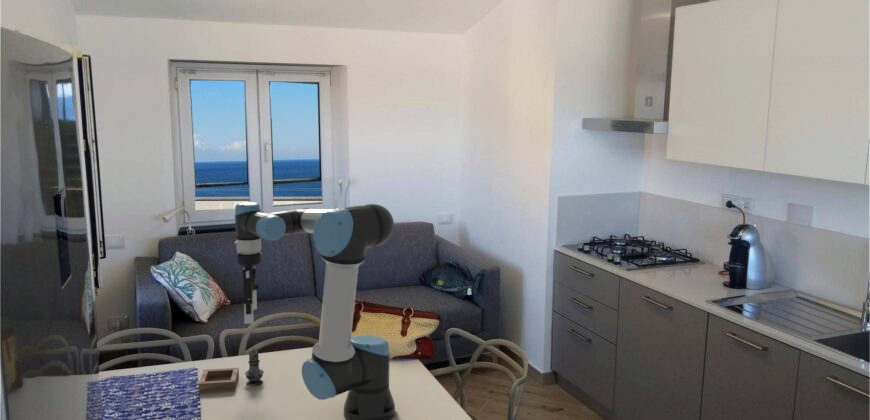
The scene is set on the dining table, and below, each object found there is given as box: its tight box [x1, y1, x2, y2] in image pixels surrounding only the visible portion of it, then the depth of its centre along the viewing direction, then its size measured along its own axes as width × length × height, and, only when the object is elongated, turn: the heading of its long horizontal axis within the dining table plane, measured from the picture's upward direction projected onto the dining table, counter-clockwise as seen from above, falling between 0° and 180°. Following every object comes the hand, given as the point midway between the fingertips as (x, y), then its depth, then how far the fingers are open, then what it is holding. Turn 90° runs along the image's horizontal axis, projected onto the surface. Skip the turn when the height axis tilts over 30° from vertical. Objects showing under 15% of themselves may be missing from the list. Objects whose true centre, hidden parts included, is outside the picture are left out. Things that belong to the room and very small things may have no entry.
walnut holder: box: [198, 367, 240, 395], centre depth 213 cm, size 11×11×3 cm
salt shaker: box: [244, 347, 264, 387], centre depth 214 cm, size 6×6×12 cm
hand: (250, 316), depth 211 cm, fingers open, 13 cm apart
